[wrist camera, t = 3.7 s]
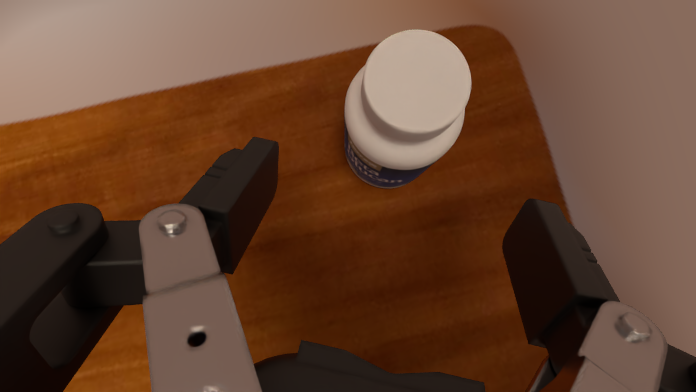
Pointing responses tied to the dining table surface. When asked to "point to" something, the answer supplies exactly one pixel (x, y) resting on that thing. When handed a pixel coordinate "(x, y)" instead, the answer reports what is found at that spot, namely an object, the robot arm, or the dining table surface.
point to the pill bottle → (405, 107)
